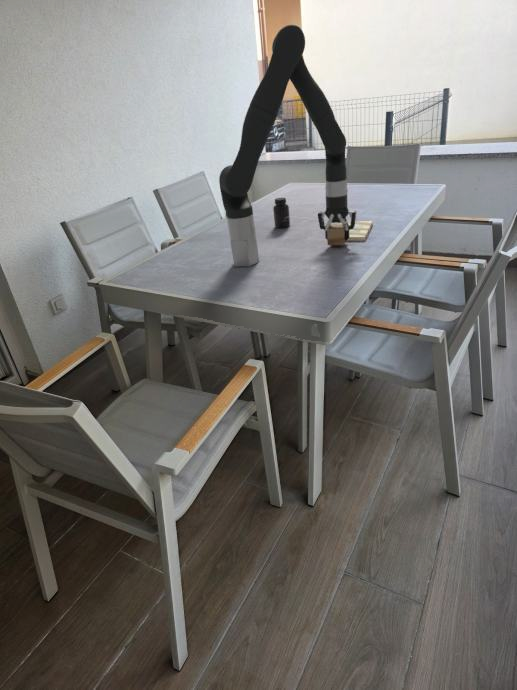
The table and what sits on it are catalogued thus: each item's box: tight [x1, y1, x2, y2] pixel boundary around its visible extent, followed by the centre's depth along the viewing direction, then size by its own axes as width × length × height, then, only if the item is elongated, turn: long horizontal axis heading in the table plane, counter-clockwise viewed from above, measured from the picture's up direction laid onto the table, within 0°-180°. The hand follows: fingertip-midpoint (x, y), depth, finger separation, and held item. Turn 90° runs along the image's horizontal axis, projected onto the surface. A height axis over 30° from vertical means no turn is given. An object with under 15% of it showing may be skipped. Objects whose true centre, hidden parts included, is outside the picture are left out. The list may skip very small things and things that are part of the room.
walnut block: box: [326, 223, 347, 246], centre depth 163 cm, size 6×6×6 cm
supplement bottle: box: [272, 197, 291, 229], centre depth 193 cm, size 7×7×12 cm
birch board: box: [337, 220, 374, 242], centre depth 176 cm, size 20×14×2 cm
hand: (337, 239), depth 164 cm, fingers closed on walnut block, 6 cm apart
